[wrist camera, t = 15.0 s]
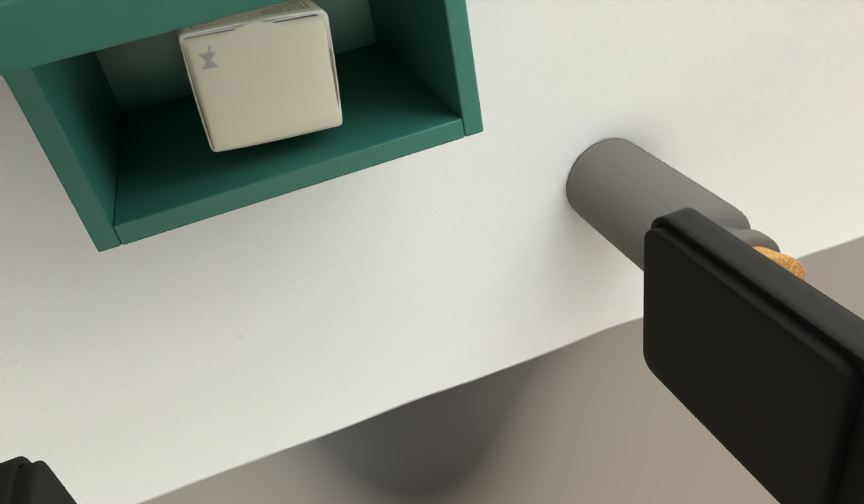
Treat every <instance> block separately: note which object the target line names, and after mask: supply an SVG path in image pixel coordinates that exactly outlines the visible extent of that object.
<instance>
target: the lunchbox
mask: <svg viewBox="0 0 864 504" xmlns="http://www.w3.org/2000/svg"><path fill="white" fill-rule="evenodd" d="M311 1H313V2H314V3H315V4H316V5H317V6H319V7H320V8H321V9H322V10H324V11H325V12H326V13H327V15H328V18H329V26H330V32H331V38H332V44H333V51H334V58H335V64H336V72H337V79H338V86H339V95H340V103H341V111H342V124H341V125H339V126H336V127H331V128H327V129H323V130H319V131H315V132H311V133H306V134H302V135H298V136H294V137H289V138H284V139H280V140H276V141H271V142H266V143H262V144H257V145H252V146H247V147H241V148H236V149H231V150H225V151H220V152H214V151H213V150H212V149H211V148H210V145H209V142H208V139H207V136H206V133H205V130H204V127H203V124H202V121H201V117H200V114H199V111H198V108H197V105H196V101H195V98H194V95H193V91H192V88H191V84H190V81H189V77H188V74H187V70H186V66H185V63H184V59H183V55H182V51H181V47H180V44H179V40H178V36H177V32H176V30H174V31H170V32H166V33H162V34H158V35H154V36H151V37H147V38H143V39H139V40H135V41H131V42H127V43H124V44H120V45H116V46H112V47H108V48H104V49H101V50H97V51H93V52H89V53H85V54H81V55H78V56H74V57H70V58H66V59H62V60H58V61H54V62H51V63H47V64H43V65H39V66H35V67H31V68H28V69H24V70H20V71H16V72H12V73H8V74H5V75H3V76H4V78H5V80H6V82H7V84H8V86H9V87H10V89H11V91H12V93H13V95H14V97H15V98H16V100H17V102H18V104H19V106H20V108H21V110H22V111H23V113H24V115H25V117H26V119H27V121H28V122H29V124H30V126H31V128H32V130H33V132H34V134H35V135H36V137H37V139H38V141H39V143H40V145H41V146H42V148H43V150H44V152H45V154H46V156H47V158H48V159H49V161H50V163H51V165H52V167H53V169H54V170H55V172H56V174H57V176H58V178H59V180H60V182H61V183H62V185H63V187H64V189H65V191H66V193H67V195H68V196H69V198H70V200H71V202H72V204H73V206H74V207H75V209H76V211H77V213H78V215H79V217H80V219H81V220H82V222H83V224H84V226H85V228H86V230H87V231H88V233H89V235H90V237H91V239H92V241H93V243H94V244H95V246H96V248H97V250H98V251H99V252H102V251H105V250H108V249H111V248H114V247H118V246H120V245H121V244H123V245H124V244H128V243H131V242H134V241H137V240H140V239H143V238H147V237H150V236H153V235H156V234H159V233H162V232H166V231H169V230H172V229H175V228H178V227H182V226H185V225H188V224H191V223H194V222H197V221H201V220H204V219H207V218H210V217H213V216H216V215H220V214H223V213H226V212H229V211H232V210H235V209H239V208H242V207H245V206H248V205H251V204H254V203H258V202H261V201H264V200H267V199H270V198H273V197H277V196H280V195H283V194H286V193H289V192H292V191H296V190H299V189H302V188H305V187H308V186H311V185H315V184H318V183H321V182H324V181H327V180H330V179H334V178H337V177H340V176H343V175H346V174H349V173H353V172H356V171H359V170H362V169H365V168H369V167H372V166H375V165H378V164H381V163H384V162H388V161H391V160H394V159H397V158H400V157H403V156H407V155H410V154H413V153H416V152H419V151H422V150H426V149H429V148H432V147H435V146H438V145H441V144H445V143H448V142H451V141H454V140H457V139H460V138H463V137H464V136H469V135H473V134H476V133H479V132H482V131H483V124H482V117H481V110H480V103H479V95H478V88H477V81H476V74H475V66H474V59H473V52H472V45H471V37H470V30H469V23H468V15H467V8H466V1H465V0H311Z"/></svg>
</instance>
